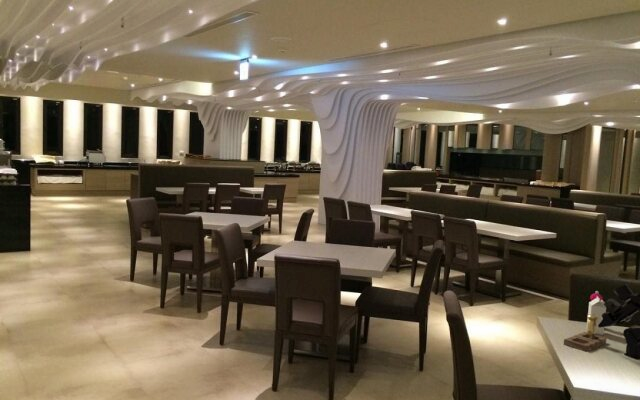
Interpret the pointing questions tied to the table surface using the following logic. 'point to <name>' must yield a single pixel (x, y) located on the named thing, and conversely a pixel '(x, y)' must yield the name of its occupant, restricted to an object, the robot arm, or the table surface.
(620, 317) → the robot arm
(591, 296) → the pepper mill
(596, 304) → the milk carton
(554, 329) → the table surface
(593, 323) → the brass bolt
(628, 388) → the table surface
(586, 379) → the table surface
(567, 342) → the template plate
